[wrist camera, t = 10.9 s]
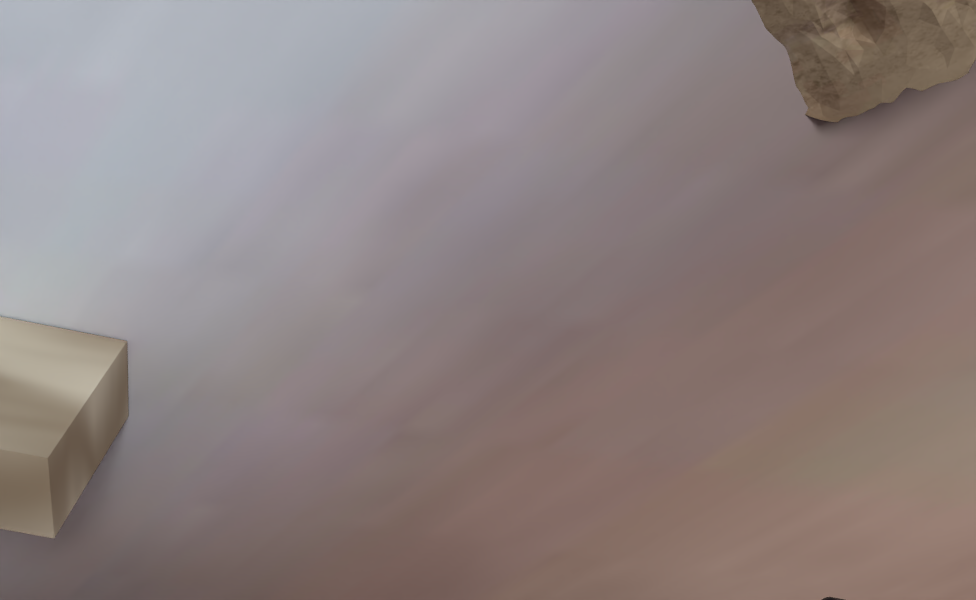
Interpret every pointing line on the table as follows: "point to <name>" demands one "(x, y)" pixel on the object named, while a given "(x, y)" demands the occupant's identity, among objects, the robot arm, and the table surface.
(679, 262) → the table surface
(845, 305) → the table surface
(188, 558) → the table surface
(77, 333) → the maple rail
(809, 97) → the clay tablet
